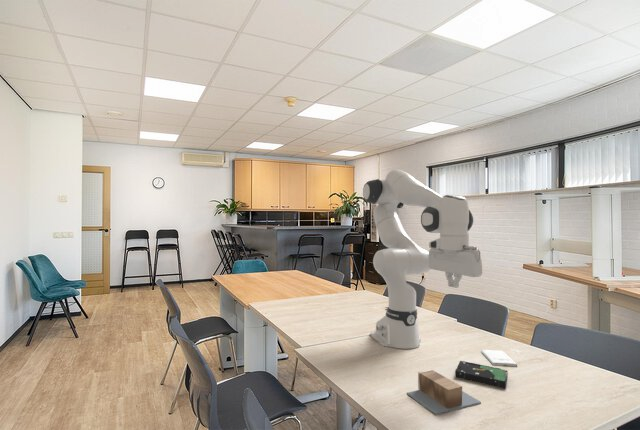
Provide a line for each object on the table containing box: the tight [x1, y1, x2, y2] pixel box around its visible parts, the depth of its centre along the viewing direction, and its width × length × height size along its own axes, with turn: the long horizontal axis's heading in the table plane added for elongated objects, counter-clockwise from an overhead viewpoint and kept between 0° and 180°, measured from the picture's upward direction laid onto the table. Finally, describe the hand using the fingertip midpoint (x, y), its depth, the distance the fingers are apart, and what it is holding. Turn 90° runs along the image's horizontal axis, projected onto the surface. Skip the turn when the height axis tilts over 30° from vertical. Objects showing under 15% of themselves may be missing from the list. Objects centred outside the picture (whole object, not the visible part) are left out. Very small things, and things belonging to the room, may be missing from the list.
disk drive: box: [454, 360, 509, 390], centre depth 116 cm, size 10×3×15 cm
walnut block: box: [417, 368, 463, 409], centre depth 102 cm, size 5×5×12 cm
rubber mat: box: [406, 389, 482, 416], centre depth 101 cm, size 12×16×1 cm
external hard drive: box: [480, 349, 518, 367], centre depth 132 cm, size 2×8×12 cm
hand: (453, 286), depth 116 cm, fingers closed
